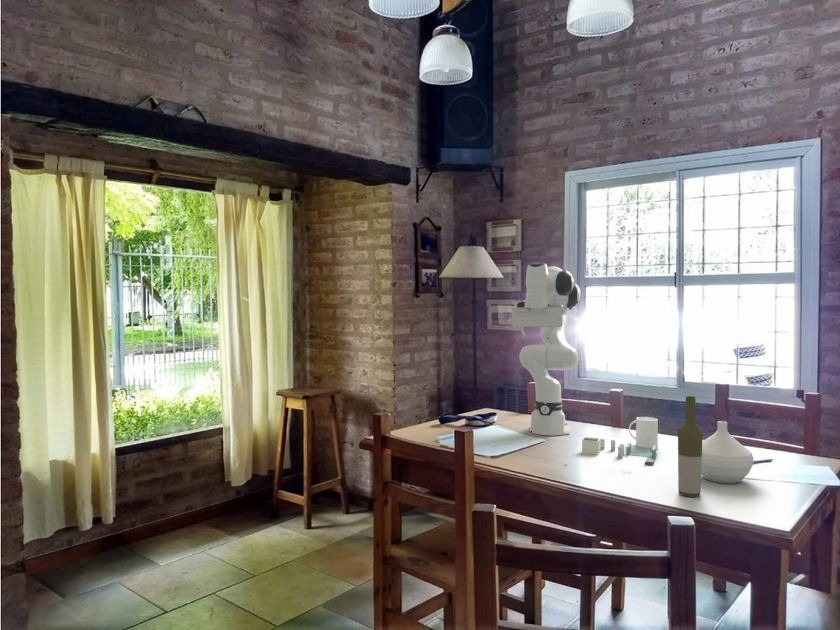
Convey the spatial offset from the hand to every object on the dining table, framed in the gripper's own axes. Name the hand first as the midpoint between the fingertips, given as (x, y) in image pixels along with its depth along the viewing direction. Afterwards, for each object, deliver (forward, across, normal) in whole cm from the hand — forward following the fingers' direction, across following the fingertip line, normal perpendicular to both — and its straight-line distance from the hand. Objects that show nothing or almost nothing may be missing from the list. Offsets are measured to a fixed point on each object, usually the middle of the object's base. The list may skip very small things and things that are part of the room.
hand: (536, 338), depth 245 cm
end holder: (+43, -39, +2) cm, 58 cm away
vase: (+44, -64, +23) cm, 81 cm away
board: (+44, -31, +3) cm, 54 cm away
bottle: (+44, -52, +44) cm, 81 cm away
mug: (+44, -41, -14) cm, 62 cm away
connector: (+43, -21, +5) cm, 48 cm away
